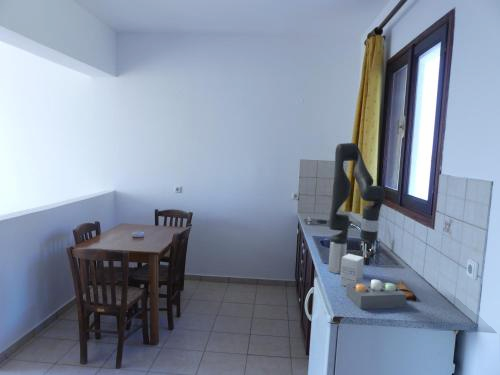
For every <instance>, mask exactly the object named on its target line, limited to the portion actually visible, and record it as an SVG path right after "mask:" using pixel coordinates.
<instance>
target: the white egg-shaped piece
mask: <svg viewBox="0 0 500 375" xmlns="http://www.w3.org/2000/svg"><path fill="white" fill-rule="evenodd" d="M370 283H371V290H372V291H381V285H382V283H383V282H382V280H379V279H371V280H370Z"/></svg>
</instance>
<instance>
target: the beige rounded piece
mask: <svg viewBox="0 0 500 375" xmlns="http://www.w3.org/2000/svg"><path fill="white" fill-rule="evenodd" d="M356 290H357V291H358V292H366V285H363V284H356Z"/></svg>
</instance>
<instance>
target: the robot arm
mask: <svg viewBox="0 0 500 375" xmlns="http://www.w3.org/2000/svg"><path fill="white" fill-rule="evenodd" d="M334 153H335V155H334V156H335V157H334V159H335V160H334V161H335V162H334V178H333V179H334V180H333V185H332V198H331V208H330V214H329V218H328V227H329V229H330V230H332V231H340V233H338V234H332V235H331V236H330V243H329V244H330V245H329V255H328V256H329V257H328V268H327V270H328V271H329V272H330V273H333V274H338V275H339V274H341V261H342V257H343V256H345V255H347V250H348V249H347V248H348V246H347V245H348V234H349V226H350V217H349V215H348V214H338V211H339V209H340V208H341V207H342V206H343V205H344V203H346V201H347V200H348V199H349V198H350V194H351V190H352V189H351V188H352V183H351V180H350V178H349V176H348V174H347V173H346V172H345V169H344V168H345V167H344V164H345V162H351V161H353V162H354V163H355V165H354V168H353V177H354V180H355V181H356V183H357V185H358V188H359V194H360V198H361V199H362V200H363V201H365V202H371V203H370V204H368V205H365V206H364V207H363V209H362V216H361V217H362V218H361V223H360V224H361V225H360V236H359V237H360V239H361V241H359V242H358V244H359V248H360V249H359V250H360V253H361V254H362V257H364V262H363V264H364V265H365V266H369V265H370V259H371V258H372V259H373V258H374V257H375V255H376V254H377V252H378V248H375V244H376V243H375V241H377V240H378V236H379V226H380V225H379V217H380V210H381V208H382V205H383V203H384V200H385V198H386V192H385V189H384V187H382V186H380V185H373V184H374V178H373V177H372V175H371V173H370V172H369V170H368V168H367V166H366V164H365V160H364V159H363V155H362V153H361V150H360V148H359V146H358V145H357V143H355V142H348V143H346V142H345V143H338V144H337V145H336V147H335V152H334Z"/></svg>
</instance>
